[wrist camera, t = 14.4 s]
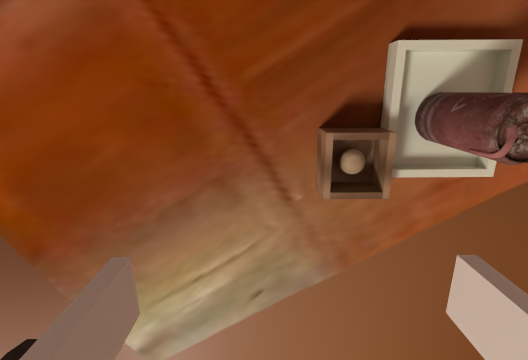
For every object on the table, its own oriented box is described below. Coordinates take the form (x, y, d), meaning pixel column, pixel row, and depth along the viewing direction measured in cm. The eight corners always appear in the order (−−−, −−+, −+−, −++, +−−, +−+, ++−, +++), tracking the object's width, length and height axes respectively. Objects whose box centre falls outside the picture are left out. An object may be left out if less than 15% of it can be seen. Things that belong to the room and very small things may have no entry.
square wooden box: (318, 127, 39) (326, 132, 34) (380, 127, 39) (396, 132, 34) (316, 186, 41) (323, 199, 36) (374, 186, 41) (388, 198, 36)
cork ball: (337, 146, 39) (343, 151, 36) (361, 146, 39) (370, 151, 36) (335, 170, 40) (341, 177, 37) (359, 170, 40) (367, 177, 37)
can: (401, 124, 38) (475, 142, 25) (436, 82, 37) (536, 76, 23) (435, 151, 39) (524, 183, 26) (471, 111, 38) (585, 122, 24)
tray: (389, 43, 36) (398, 40, 34) (505, 43, 36) (523, 39, 34) (375, 172, 41) (383, 177, 38) (479, 171, 41) (493, 176, 38)
